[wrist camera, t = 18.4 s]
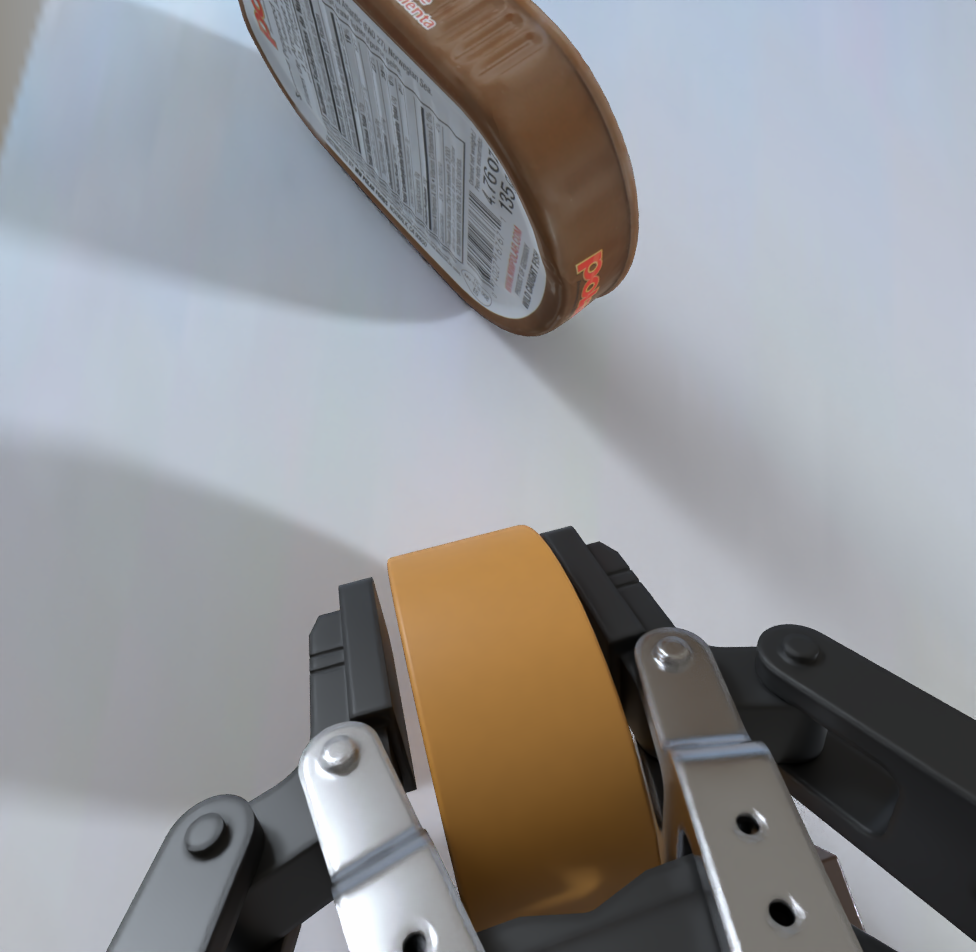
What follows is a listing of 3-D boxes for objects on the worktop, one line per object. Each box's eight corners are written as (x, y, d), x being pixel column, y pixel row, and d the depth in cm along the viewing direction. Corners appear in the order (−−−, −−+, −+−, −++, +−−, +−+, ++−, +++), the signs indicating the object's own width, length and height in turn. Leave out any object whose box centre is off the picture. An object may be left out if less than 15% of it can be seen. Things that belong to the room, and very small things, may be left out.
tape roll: (453, 833, 16) (517, 1149, 9) (383, 543, 16) (383, 595, 8) (561, 796, 17) (716, 1064, 9) (495, 515, 17) (593, 539, 9)
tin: (595, 340, 20) (712, 129, 12) (524, 396, 19) (597, 210, 11) (315, 45, 22) (254, -300, 14) (240, 83, 21) (131, -259, 13)
